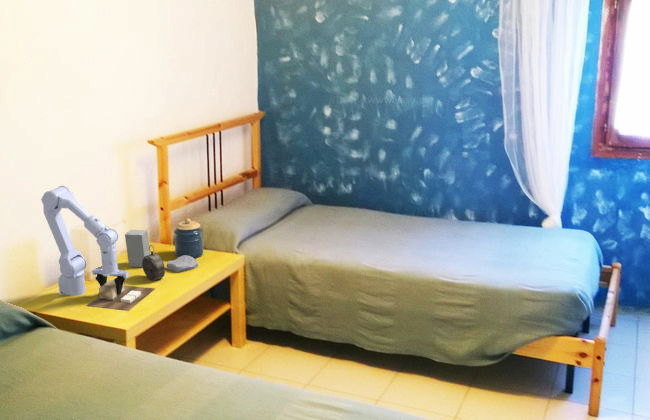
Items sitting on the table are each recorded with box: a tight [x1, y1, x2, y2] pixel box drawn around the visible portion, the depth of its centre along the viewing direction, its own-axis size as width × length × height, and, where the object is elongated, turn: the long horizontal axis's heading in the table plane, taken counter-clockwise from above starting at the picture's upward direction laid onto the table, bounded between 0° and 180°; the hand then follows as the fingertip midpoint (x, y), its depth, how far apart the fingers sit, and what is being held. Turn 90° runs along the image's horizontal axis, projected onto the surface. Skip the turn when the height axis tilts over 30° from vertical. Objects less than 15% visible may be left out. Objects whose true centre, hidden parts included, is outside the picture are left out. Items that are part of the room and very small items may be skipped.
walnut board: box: [85, 284, 156, 312], centre depth 272 cm, size 18×22×2 cm
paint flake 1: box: [121, 295, 135, 303], centre depth 268 cm, size 4×4×1 cm
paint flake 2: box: [127, 291, 141, 298], centre depth 272 cm, size 4×4×1 cm
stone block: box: [165, 255, 199, 273], centre depth 306 cm, size 12×5×10 cm
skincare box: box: [124, 229, 151, 268], centre depth 307 cm, size 8×7×16 cm
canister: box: [173, 217, 204, 259], centre depth 320 cm, size 13×13×18 cm
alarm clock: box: [141, 244, 166, 281], centre depth 288 cm, size 11×5×16 cm, turn 47°
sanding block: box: [98, 279, 125, 300], centre depth 271 cm, size 6×9×4 cm, turn 167°
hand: (112, 292), depth 272 cm, fingers closed on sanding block, 6 cm apart
